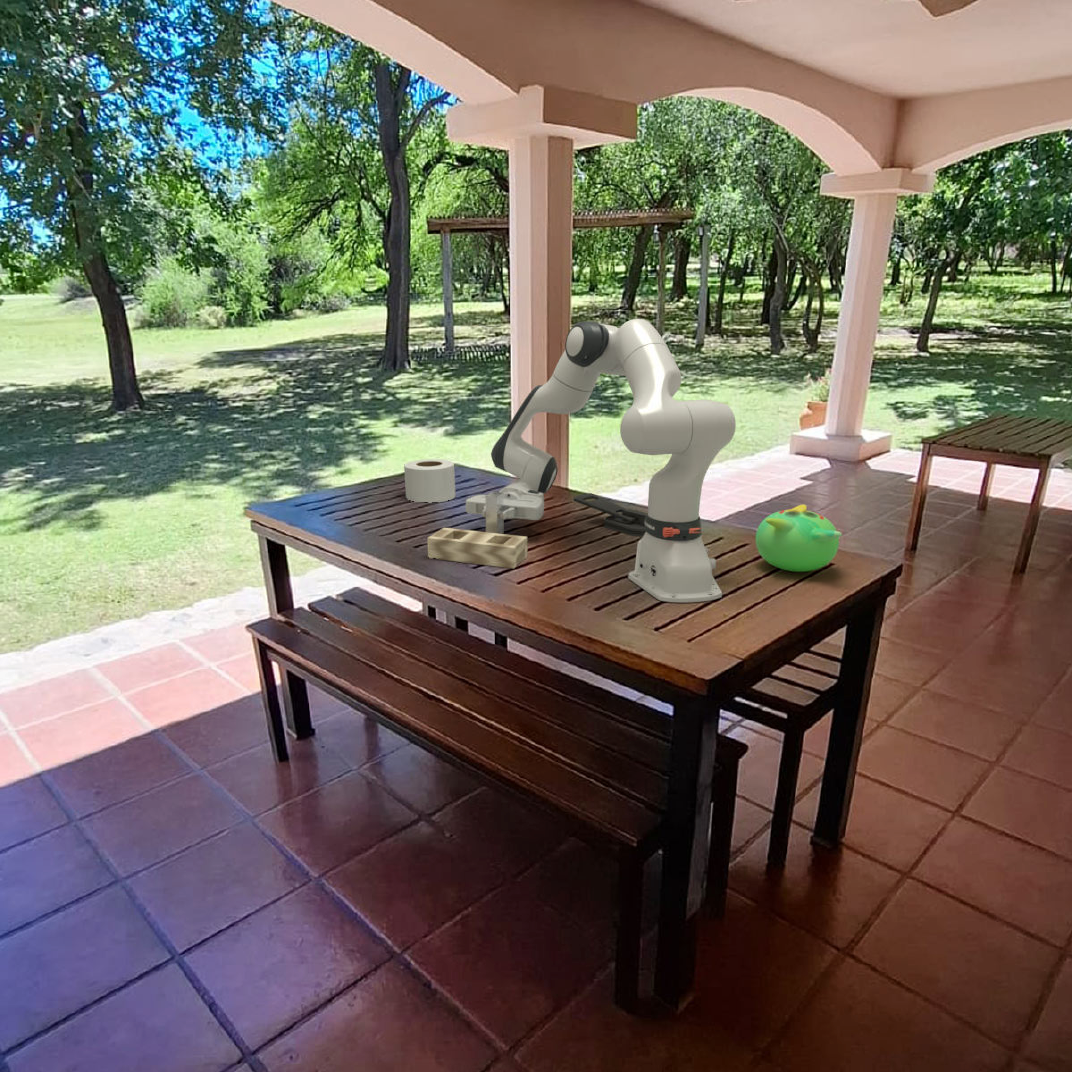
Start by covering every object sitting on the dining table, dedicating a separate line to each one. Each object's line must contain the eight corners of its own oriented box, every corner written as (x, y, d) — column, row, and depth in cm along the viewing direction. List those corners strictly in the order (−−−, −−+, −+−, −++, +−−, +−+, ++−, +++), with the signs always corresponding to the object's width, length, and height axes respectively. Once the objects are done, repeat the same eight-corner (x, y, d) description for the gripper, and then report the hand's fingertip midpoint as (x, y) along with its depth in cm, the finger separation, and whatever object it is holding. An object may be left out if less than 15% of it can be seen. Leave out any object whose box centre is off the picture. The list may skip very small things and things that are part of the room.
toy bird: (831, 561, 177) (839, 501, 172) (838, 586, 161) (847, 521, 157) (752, 554, 181) (758, 496, 177) (752, 578, 166) (759, 514, 161)
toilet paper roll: (396, 500, 229) (394, 466, 226) (422, 489, 243) (420, 457, 240) (440, 505, 223) (438, 470, 220) (464, 494, 237) (463, 461, 234)
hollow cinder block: (527, 556, 179) (527, 536, 177) (514, 568, 171) (513, 547, 169) (444, 546, 186) (443, 527, 184) (428, 557, 178) (427, 537, 176)
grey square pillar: (503, 541, 190) (503, 492, 186) (497, 547, 186) (496, 496, 182) (492, 540, 191) (492, 491, 187) (486, 545, 187) (485, 495, 183)
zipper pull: (590, 491, 214) (662, 507, 197) (590, 513, 216) (661, 531, 199) (570, 497, 208) (643, 514, 191) (569, 519, 210) (641, 538, 193)
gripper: (476, 487, 200) (455, 499, 187) (549, 493, 193) (531, 506, 181) (477, 509, 202) (455, 523, 189) (548, 516, 195) (531, 531, 183)
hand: (493, 515), depth 185 cm, fingers closed on grey square pillar, 3 cm apart
